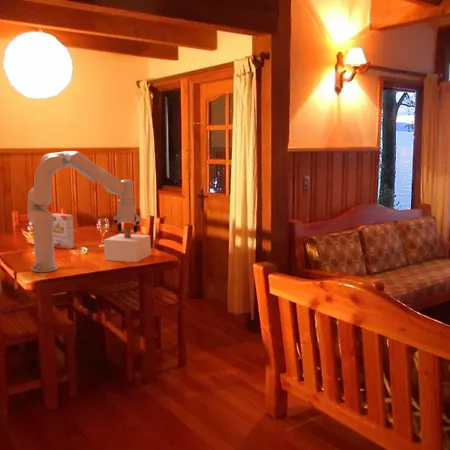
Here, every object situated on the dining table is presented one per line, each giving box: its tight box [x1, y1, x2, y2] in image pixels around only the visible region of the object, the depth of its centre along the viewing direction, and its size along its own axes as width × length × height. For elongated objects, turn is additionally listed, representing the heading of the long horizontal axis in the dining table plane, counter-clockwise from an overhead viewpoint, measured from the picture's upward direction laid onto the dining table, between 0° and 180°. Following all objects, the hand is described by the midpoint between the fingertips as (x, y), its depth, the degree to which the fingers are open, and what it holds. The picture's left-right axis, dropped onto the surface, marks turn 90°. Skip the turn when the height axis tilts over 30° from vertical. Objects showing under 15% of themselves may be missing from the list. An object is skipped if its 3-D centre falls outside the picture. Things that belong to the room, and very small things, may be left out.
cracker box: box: [52, 212, 75, 250], centre depth 323 cm, size 14×6×21 cm, turn 62°
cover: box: [103, 226, 152, 263], centre depth 297 cm, size 19×19×18 cm
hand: (127, 231), depth 296 cm, fingers open, 9 cm apart
